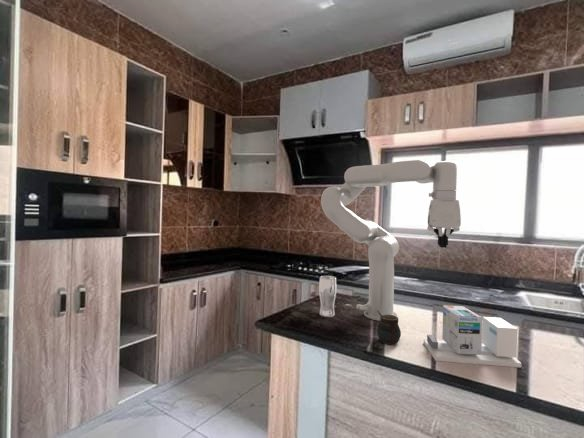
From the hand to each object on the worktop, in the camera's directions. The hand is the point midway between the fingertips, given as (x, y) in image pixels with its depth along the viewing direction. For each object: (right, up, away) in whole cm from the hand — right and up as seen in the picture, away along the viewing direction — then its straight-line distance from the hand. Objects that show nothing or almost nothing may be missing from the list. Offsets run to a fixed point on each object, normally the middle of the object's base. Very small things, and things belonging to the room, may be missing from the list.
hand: (442, 247), depth 114 cm
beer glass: (-40, -28, +12) cm, 51 cm away
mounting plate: (-3, -30, -21) cm, 36 cm away
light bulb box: (-5, -28, -21) cm, 35 cm away
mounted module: (+5, -28, -22) cm, 36 cm away
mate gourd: (-24, -29, -13) cm, 40 cm away
